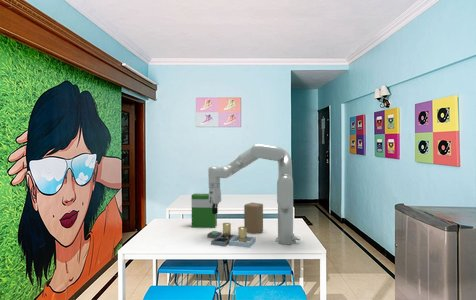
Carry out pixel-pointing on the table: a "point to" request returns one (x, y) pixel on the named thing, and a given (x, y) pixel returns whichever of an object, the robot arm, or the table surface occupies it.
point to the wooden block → (253, 217)
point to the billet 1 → (226, 230)
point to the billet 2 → (242, 234)
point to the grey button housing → (213, 235)
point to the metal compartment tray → (221, 240)
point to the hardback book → (202, 212)
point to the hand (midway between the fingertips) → (215, 213)
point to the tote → (242, 244)
